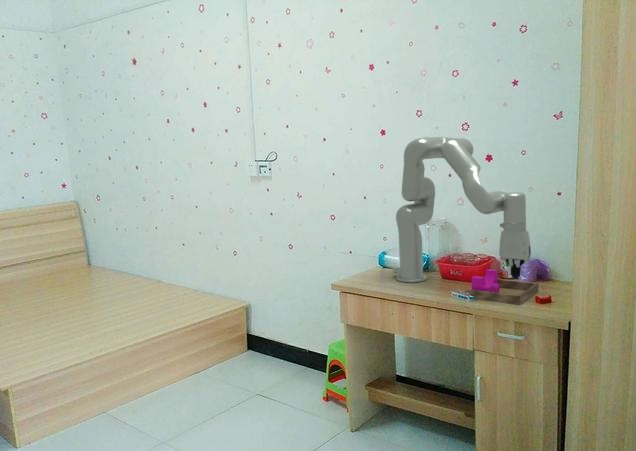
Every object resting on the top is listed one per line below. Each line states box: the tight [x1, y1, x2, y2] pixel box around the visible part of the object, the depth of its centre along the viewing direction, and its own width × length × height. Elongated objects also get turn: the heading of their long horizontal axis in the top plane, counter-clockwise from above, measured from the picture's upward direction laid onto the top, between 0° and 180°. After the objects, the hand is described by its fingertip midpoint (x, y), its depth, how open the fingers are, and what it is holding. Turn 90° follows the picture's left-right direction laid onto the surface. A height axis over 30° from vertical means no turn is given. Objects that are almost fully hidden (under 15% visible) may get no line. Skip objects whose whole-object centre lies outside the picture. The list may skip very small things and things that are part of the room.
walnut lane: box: [468, 278, 539, 306], centre depth 205 cm, size 18×20×3 cm
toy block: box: [471, 268, 500, 293], centre depth 208 cm, size 15×6×8 cm, turn 141°
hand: (515, 277), depth 202 cm, fingers closed
